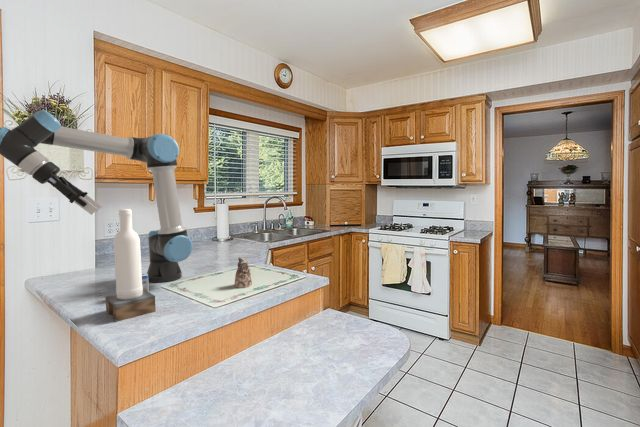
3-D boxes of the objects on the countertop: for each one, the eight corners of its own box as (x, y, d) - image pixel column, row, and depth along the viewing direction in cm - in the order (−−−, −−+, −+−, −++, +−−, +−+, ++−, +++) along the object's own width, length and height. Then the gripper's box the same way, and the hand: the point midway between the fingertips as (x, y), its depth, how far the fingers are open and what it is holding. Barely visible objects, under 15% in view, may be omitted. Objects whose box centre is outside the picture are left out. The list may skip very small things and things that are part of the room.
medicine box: (126, 300, 129) (124, 278, 129) (126, 297, 133) (125, 275, 132) (149, 297, 133) (148, 275, 132) (149, 293, 137) (147, 272, 136)
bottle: (121, 301, 111) (116, 210, 109) (112, 296, 117) (107, 209, 114) (146, 295, 117) (142, 209, 115) (137, 291, 123) (133, 208, 120)
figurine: (239, 288, 143) (239, 260, 142) (231, 285, 148) (231, 258, 147) (254, 285, 147) (254, 258, 146) (246, 282, 153) (245, 255, 152)
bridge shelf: (143, 303, 126) (142, 288, 126) (155, 311, 118) (154, 295, 117) (106, 311, 118) (105, 296, 117) (116, 321, 109) (115, 304, 109)
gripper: (41, 177, 124) (93, 215, 133) (19, 175, 102) (83, 221, 111) (57, 162, 126) (108, 201, 135) (40, 158, 104) (101, 204, 112)
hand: (97, 210), depth 123 cm, fingers open, 13 cm apart
